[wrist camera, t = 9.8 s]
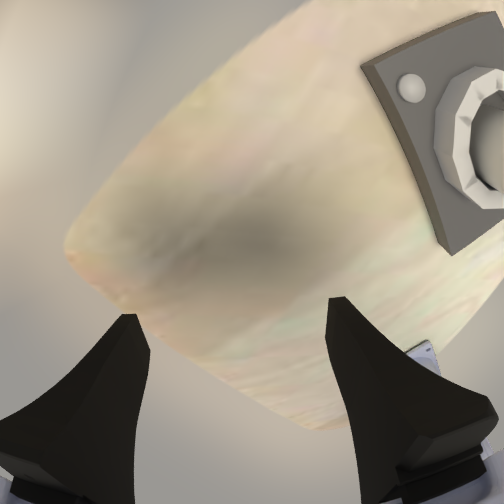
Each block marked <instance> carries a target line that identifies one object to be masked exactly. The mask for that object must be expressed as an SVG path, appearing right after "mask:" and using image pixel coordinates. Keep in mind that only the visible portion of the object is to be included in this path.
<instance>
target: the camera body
mask: <svg viewBox="0 0 504 504" xmlns="http://www.w3.org/2000/svg"><path fill="white" fill-rule="evenodd" d="M361 68H362V70H363V71H364V73H365V75H366V77H367V78H368V80H369V82H370V84H371V86H372V87H373V89H374V91H375V93H376V95H377V97H378V98H379V100H380V102H381V104H382V106H383V108H384V110H385V112H386V114H387V116H388V118H389V120H390V122H391V124H392V126H393V128H394V130H395V132H396V135H397V137H398V139H399V141H400V143H401V145H402V148H403V150H404V152H405V154H406V157H407V159H408V161H409V164H410V166H411V168H412V171H413V173H414V176H415V178H416V181H417V183H418V186H419V188H420V191H421V194H422V196H423V199H424V202H425V204H426V207H427V210H428V213H429V216H430V219H431V221H432V224H433V227H434V230H435V234H436V237H437V240H438V243H439V244H440V245H441V246H442V247H443V248H444V249H445V250H446V251H447V252H448V253H449V254H450V255H451V256H453V255H454V254H456V253H457V252H459V251H460V250H462V249H463V248H465V247H466V246H467V245H469V244H470V243H472V242H473V241H474V240H476V239H477V238H478V237H480V236H481V235H483V234H484V233H485V232H487V231H488V230H489V229H491V228H492V227H493V226H495V225H496V224H497V223H499V222H500V221H501V220H502V219H504V194H503V193H501V192H500V191H498V190H497V189H495V188H494V187H492V186H491V185H489V184H487V183H486V182H484V181H483V180H481V179H480V178H478V177H476V175H475V172H474V168H473V164H472V161H471V158H470V154H469V145H470V134H471V122H472V120H473V118H474V116H475V114H476V112H477V110H478V108H479V106H483V105H486V106H491V107H494V108H497V109H500V110H503V111H504V28H503V26H502V24H501V22H500V19H499V17H498V15H497V13H496V11H491V12H480V13H476V14H473V15H470V16H468V17H465V18H463V19H460V20H457V21H455V22H452V23H450V24H448V25H445V26H443V27H440V28H438V29H436V30H433V31H431V32H429V33H427V34H424V35H422V36H420V37H418V38H415V39H413V40H411V41H409V42H407V43H405V44H403V45H400V46H398V47H396V48H394V49H392V50H390V51H388V52H386V53H384V54H382V55H380V56H378V57H376V58H374V59H372V60H370V61H368V62H366V63H364V64H362V65H361Z"/></svg>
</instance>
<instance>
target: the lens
mask: <svg viewBox="0 0 504 504" xmlns="http://www.w3.org/2000/svg"><path fill="white" fill-rule="evenodd" d="M469 154H470V158H471V161H472V164H473V168H474V172H475V175H476V177H478V178H480V179H481V180H483V181H484V182H486V183H487V184H489V185H491V186H492V187H494V188H495V189H497V190H498V191H500V192H501V193H503V194H504V111H503V110H500V109H497V108H494V107H491V106H486V105H483V106H479V108H478V110H477V112H476V114H475V116H474V118H473V120H472V122H471V134H470V145H469Z"/></svg>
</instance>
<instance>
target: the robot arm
mask: <svg viewBox="0 0 504 504" xmlns="http://www.w3.org/2000/svg"><path fill="white" fill-rule="evenodd" d="M325 340H326V344H327V349H328V354H329V358H330V362H331V365H332V368H333V371H334V374H335V377H336V380H337V383H338V386H339V389H340V392H341V394H342V397H343V400H344V403H345V406H346V410H347V413H348V417H349V421H350V426H351V431H352V436H353V441H354V447H355V453H356V460H357V467H358V474H359V482H360V492H361V503H362V504H504V448H503V449H502V450H500V451H498V452H496V453H494V452H493V449H492V447H491V445H490V443H489V441H488V439H487V436H488V435H489V434H490V432H491V431H492V430H493V429H494V428H495V426H496V425H497V422H498V420H499V418H498V415H497V413H496V411H495V409H494V407H493V405H492V404H491V402H490V400H489V399H488V397H487V396H484V395H482V394H479V393H476V392H474V391H471V390H468V389H466V388H463V387H461V386H459V385H457V384H455V383H452V382H451V381H448V380H447V379H444V378H443V377H441V373H440V370H439V366H438V363H437V360H436V357H435V353H434V350H433V347H432V344H431V342H430V341H426V342H424V343H423V344H421V345H419V346H418V347H416V348H414V349H413V350H411V351H409V352H407V353H406V354H405V353H404V352H403V351H401V350H400V349H399V348H398V347H396V346H395V345H394V344H393V343H392V342H391V341H389V340H388V339H387V338H386V337H385V336H384V335H383V334H382V333H381V332H379V331H378V330H377V329H376V328H375V327H374V326H373V325H372V324H371V323H370V322H369V321H368V320H367V319H366V318H365V317H364V316H363V315H362V314H361V313H360V312H359V311H358V310H357V309H356V308H355V306H354V305H353V304H352V303H351V302H350V301H349V300H348V299H347V298H346V297H345V296H344V297H336V298H329V302H328V313H327V324H326V334H325ZM149 361H150V348H149V346H148V343H147V341H146V338H145V336H144V333H143V331H142V328H141V325H140V323H139V320H138V317H137V315H136V314H122V315H121V316H120V317H119V318H118V319H117V320H116V321H115V322H114V324H113V325H112V326H111V327H110V328H109V329H108V331H107V332H106V333H105V334H104V335H103V336H102V338H101V339H100V340H99V341H98V342H97V343H96V344H95V346H94V347H93V348H92V349H91V350H90V351H89V352H88V353H87V354H86V356H85V357H84V358H83V359H82V360H81V361H80V362H79V363H78V364H77V365H76V366H75V367H74V368H73V369H72V370H71V371H70V372H69V373H68V374H67V375H66V376H65V377H64V378H63V379H61V380H60V381H59V382H58V383H57V384H56V385H55V386H53V387H52V388H51V389H49V390H48V391H47V392H46V393H44V394H43V395H42V396H40V397H39V398H38V399H36V400H35V401H33V402H32V403H30V404H29V405H27V406H26V407H24V408H22V409H21V410H19V411H17V412H16V413H14V414H12V415H10V416H8V417H6V418H4V419H2V420H0V466H1V467H2V468H4V469H5V470H6V471H8V472H9V473H10V474H11V475H13V476H14V478H13V481H12V482H11V481H10V480H8V479H6V478H4V477H1V476H0V504H135V496H134V449H135V435H136V427H137V421H138V416H139V411H140V407H141V403H142V398H143V394H144V390H145V385H146V381H147V376H148V371H149V370H148V369H149Z"/></svg>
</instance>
